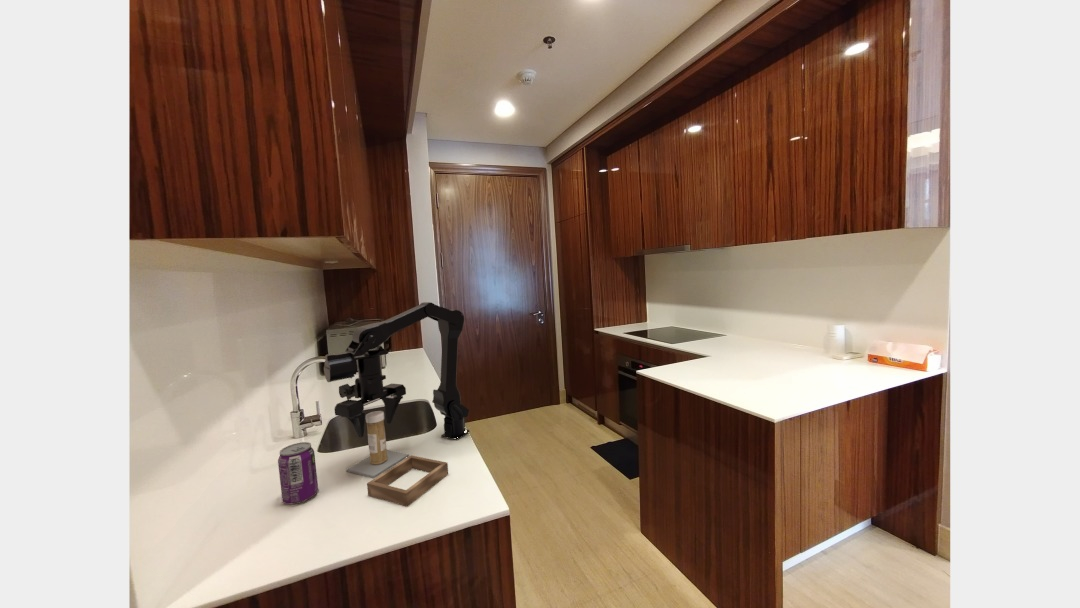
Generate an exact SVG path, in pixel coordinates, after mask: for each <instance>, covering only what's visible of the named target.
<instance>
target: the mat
mask: <svg viewBox="0 0 1080 608" xmlns="http://www.w3.org/2000/svg"><path fill="white" fill-rule="evenodd" d="M387 456H388V459H387V461H385V462H384V463H382V464H378V465H373V464H371V463H370V455H369V456H368V457H365V458H364V459H363V460H360V461H359V462H357V463H355V464H353V465H352V466H350V467H348V468H346V472H347V473H351V474H355V475H359V476H364V477H367V478H370V479H375V478H376V477H378V476H379V475H381V474H382V473H384V472H386V471H387V470H389V469H390V468H392V467H393V466H395V465H397V464H398V463H400V462H401V461H403V460H404V459H406V457H407V458H408V457H409V456H410V455H409V453H404V452H400V451H395V450H390V449H387Z"/></svg>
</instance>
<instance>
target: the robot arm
mask: <svg viewBox="0 0 1080 608" xmlns="http://www.w3.org/2000/svg"><path fill="white" fill-rule="evenodd" d="M464 315H465V314H463V313H462V312H461V311H460V310H459V309H449V308H445V307H443V306H440V305H438V304H434V303H433V302H429V301H426V302H425V301H423V302H420V304H419V305H418V304H417V305H416V306H414V307H412V308H410V309H408V310H405V311H403V312H401V313H398V314H397V315H395V316H392V317H389V318H387V319H385V320H382V321H378V322H373V323H370V324H364V325H362V326H359V327H357V328H356V329H354V331H353V334H352V337H351V338H352V339H351V341H350V342H349V344H348V346H346V347H347V348H346V349H345V351H344V352H340V353H329V354H326V355H325V360H324V366H323V373H324V377H325V380H326V382H327V383H331V382H336V381H341V380H346V379H351V378H353V377H354V376H355V375H358V377H357V378H355V379H354V380H355V381H354V384H351V385H350V384H349V383H345V384H342V385H340V386H338V394H339V397H340V398H341V399H343V398H346V399H345V400H343V401H341V402H339V403H336V405H335V406H334V416H338V417H339V416H340V417H341V418H346V419H348V421H349V422H350V424H351V425H352V427H353V428H354V430H355V432H356V434H357V436H358V437H359V438H364V434H365V423H366V413H365V412H363V411H364V409H365V406H368V405H369V404H373V403H375V402H378V401H380V400H381V401H382V402H383V404H384V411H385V412H384V415H385V420H386V423H387V424H392V421H393V418H394V417H395V414H396V411H397V409H398V406H399V405H400V402H401V401H402V400H403V399H404V396H405V395H407V388H406V386H405V385H404V384H402V383H401V384H400V383H390V384H386V385H384V380H387V376H386V375H385V374H383V370H382V358H381V356H384V355H389V351H387V350H386V349H385V348H384V347H383V346H382V344H384V343H385V342H387V341H388V339H389V338H390V337H391V336H392V335H394V334H396V333H398V332H399V331H402V330H404V329H406V328H408V327H410V326H412V325H414V324H416V323H418V322H420V321H422V320H424V319H426V318H429V319H431V320H433V321H435V322H437V326H438V331H439V333H440V335H441V338H442V339H441V340H442V341H441V359H440V360H441V361H440V362H441V363H440V365H441V366H440V383H439V386H438V387H437V389H433V390H432V395H433V398H432V403H433V405H434V408H435V409H436V410H437V411H439V413H440V414H441V415H443V416H444V418H443V430H444V432H443V433H442V434H441V438H444V437H448V438H447V439H450V438H456V439H458V438H460V437H461V436H462V437H464V436H465V435H466V434H465V433H464V431H465V429H466V430H467V432H468V433H469V432H470V431H471V430H470V429H467V428H466V418H467V417H468V416H469V412H470V409H468V407H466V406H464V405H463V404H462V401H461V399H462V398H461V393H460V391H459V388H458V386H457V376H458V375H457V373H458V371H457V370H458V350H459V349H458V347H459V346H458V345H459V337H460V336H461V334H462V332H463V329H464V325H465V316H464ZM357 373H358V374H357ZM352 398H354V399H352ZM356 399H359V400H356ZM464 427H465V428H464ZM463 435H464V436H463ZM457 437H458V438H457ZM462 437H461V438H462ZM461 438H460V439H461ZM456 439H455V440H456ZM458 440H459V439H458Z"/></svg>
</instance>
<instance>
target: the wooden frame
mask: <svg viewBox="0 0 1080 608" xmlns="http://www.w3.org/2000/svg"><path fill="white" fill-rule="evenodd" d="M448 465H449V464H448V462H446V461H441V460H436V459H431V458H426V457H421V456H415V455H412V454H411V455H409V456H408V457H407V458H405V459H404V460H402V461H400V462H399V463H397V464H396V465H394V466H393V467H391V468H389V469H388V470H386V471H385V472H383V473H382V474H380V475H378V476H377V477H375V478H372V479H371V480H369V481H368V482H367V483H366V488H367V496H368V497H372V498H376V499H378V500H383V501H387V502H390V503H393V504H395V505H396V504H397V505H401V506H402V507H403V506H404V507H409V506H410V505H411V504H413V503H414V502H416V501H417V500H418V499H419V498H420V497H422V495H424V494H425V493H427V492H428V491H430V489H432V488H433V487H434V486H435V485H437V484H438V483H439V482H440V481H441V480H442V479H444V478H445V477H447V476H448V475H449V466H448ZM412 469H413V470H416V469H417V470H416V471H421V470H422V472H425V471H426V472H425V473H428V474H426V475H425V476H423V477H422V478H420V479H419V480H418V481H416V482H415V483H414V484H412V485H411V486H409V487H408V488H407V489H403V488H401V487H400V488H399V487H395V486H391V485H390V484H392V483H393V482H394V481H396V480H398V479H399V478H401V477H403V476H404V475H405V474H406V473H408V472H409V471H411V470H412Z"/></svg>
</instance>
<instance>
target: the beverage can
mask: <svg viewBox="0 0 1080 608" xmlns="http://www.w3.org/2000/svg"><path fill="white" fill-rule="evenodd" d="M315 455H316V454H315V450H314V448H313V447H312V443H311V442H308V441H301V442H296V443H293V444H290V445H288V446H285V447H283V448H282V449H280V451H279V457H278V460H277V465H278V475H279V484H280V490H281V491H280V492H281V500H282V501H281V502H283V503H284V504H288V505H289V504H290V505H291V504H292V505H293V504H294V505H296V504H300V503H303V502H306V501H308V500H309V499H311V498H312V497H313V496H315V495H316V494H317V493H318V491H319V484H318V474H317V465H316V456H315Z"/></svg>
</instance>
